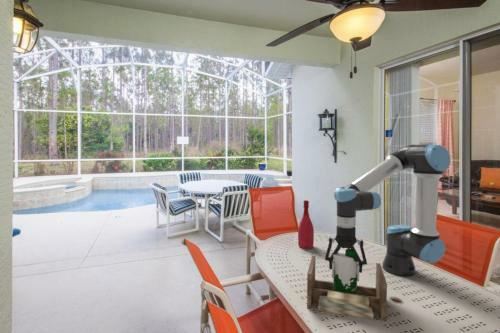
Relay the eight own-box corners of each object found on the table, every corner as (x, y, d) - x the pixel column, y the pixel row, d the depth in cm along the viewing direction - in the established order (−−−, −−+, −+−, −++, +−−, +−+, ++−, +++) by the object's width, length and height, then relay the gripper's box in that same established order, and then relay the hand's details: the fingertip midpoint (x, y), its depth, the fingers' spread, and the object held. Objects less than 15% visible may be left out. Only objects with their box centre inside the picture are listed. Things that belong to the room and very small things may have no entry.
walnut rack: (379, 295, 121) (380, 263, 120) (385, 321, 103) (387, 284, 102) (311, 285, 129) (312, 255, 128) (307, 307, 111) (307, 273, 110)
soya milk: (352, 303, 113) (352, 254, 111) (330, 296, 118) (330, 249, 117) (359, 294, 119) (360, 248, 118) (338, 287, 125) (339, 244, 124)
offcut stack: (371, 311, 109) (371, 296, 109) (373, 320, 104) (373, 304, 103) (318, 303, 115) (318, 289, 114) (318, 311, 110) (318, 296, 109)
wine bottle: (313, 249, 174) (314, 202, 172) (297, 248, 176) (298, 201, 174) (313, 244, 184) (313, 199, 182) (298, 243, 186) (298, 198, 184)
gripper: (318, 226, 117) (317, 278, 118) (375, 230, 110) (374, 286, 111) (319, 221, 124) (319, 270, 125) (373, 225, 117) (372, 277, 118)
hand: (345, 278), depth 118 cm, fingers closed on soya milk, 9 cm apart
